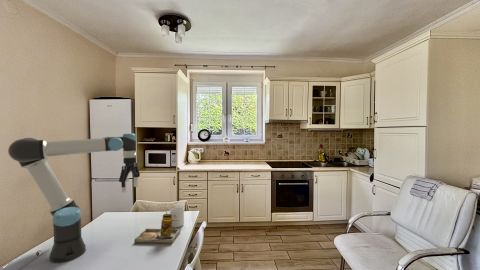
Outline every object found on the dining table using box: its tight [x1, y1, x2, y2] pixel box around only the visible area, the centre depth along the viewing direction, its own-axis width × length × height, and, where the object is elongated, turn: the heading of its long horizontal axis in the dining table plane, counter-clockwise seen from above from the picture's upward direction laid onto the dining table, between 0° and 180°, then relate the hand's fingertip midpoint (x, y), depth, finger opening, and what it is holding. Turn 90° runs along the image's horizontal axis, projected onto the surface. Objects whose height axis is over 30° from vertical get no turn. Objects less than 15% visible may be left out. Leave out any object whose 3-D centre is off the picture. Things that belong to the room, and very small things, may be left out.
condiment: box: [158, 213, 173, 238], centre depth 137 cm, size 7×8×12 cm
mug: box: [165, 206, 185, 229], centre depth 156 cm, size 12×9×11 cm
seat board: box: [134, 228, 181, 245], centre depth 138 cm, size 14×22×2 cm, turn 87°
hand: (130, 189), depth 150 cm, fingers open, 13 cm apart
